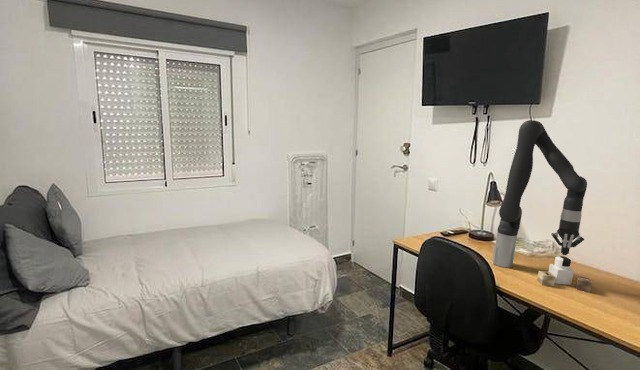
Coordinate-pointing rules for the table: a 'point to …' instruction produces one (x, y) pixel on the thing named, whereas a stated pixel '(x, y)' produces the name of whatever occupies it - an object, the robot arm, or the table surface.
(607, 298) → the table surface
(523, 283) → the table surface
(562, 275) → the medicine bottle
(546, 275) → the oak cube
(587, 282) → the walnut cube
